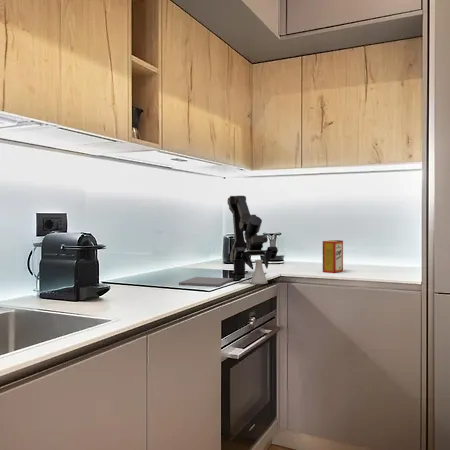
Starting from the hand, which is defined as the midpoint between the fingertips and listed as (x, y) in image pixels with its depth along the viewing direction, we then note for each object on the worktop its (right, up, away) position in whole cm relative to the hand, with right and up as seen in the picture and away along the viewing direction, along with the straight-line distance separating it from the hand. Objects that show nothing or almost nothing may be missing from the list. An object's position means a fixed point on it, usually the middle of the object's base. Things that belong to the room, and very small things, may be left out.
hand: (259, 268), depth 198 cm
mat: (-23, -7, +4) cm, 24 cm away
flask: (0, -7, +2) cm, 7 cm away
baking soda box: (+40, -5, +38) cm, 55 cm away
